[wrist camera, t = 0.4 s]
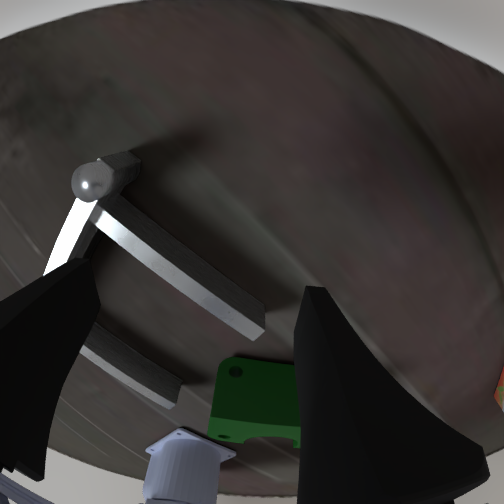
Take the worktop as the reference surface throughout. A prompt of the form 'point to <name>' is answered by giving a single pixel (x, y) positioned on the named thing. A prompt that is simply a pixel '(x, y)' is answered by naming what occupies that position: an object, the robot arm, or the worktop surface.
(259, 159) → the worktop surface
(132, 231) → the dock
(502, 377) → the cracker box
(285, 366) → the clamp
